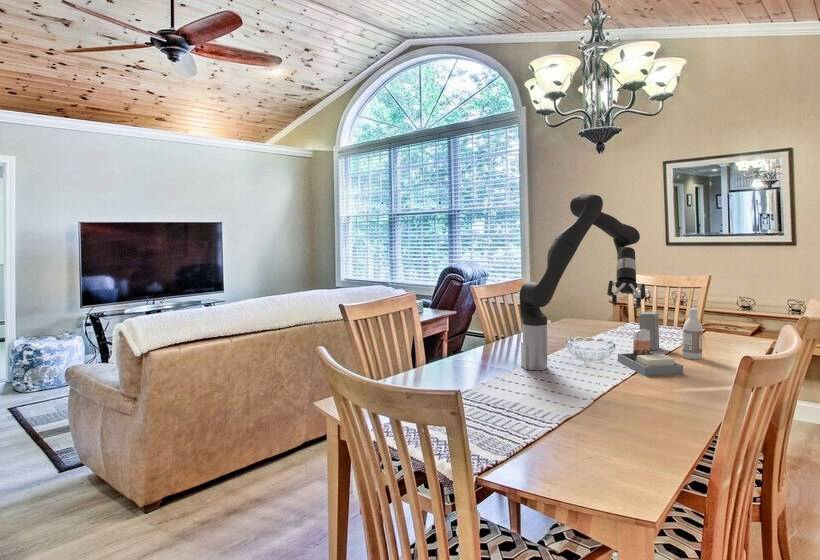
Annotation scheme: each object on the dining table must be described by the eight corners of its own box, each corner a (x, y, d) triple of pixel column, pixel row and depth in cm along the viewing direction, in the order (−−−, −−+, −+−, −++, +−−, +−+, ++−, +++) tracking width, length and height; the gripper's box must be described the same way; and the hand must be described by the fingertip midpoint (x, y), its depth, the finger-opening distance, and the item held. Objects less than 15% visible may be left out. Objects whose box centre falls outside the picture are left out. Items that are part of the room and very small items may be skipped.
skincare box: (655, 351, 216) (656, 314, 214) (637, 349, 220) (638, 313, 219) (659, 347, 223) (660, 311, 221) (642, 345, 227) (643, 310, 225)
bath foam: (698, 360, 199) (700, 310, 197) (679, 357, 204) (681, 309, 202) (704, 357, 204) (705, 308, 202) (685, 354, 209) (687, 306, 207)
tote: (644, 378, 178) (644, 367, 178) (617, 363, 198) (617, 353, 198) (682, 376, 179) (683, 365, 179) (652, 362, 199) (652, 352, 198)
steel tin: (637, 366, 191) (638, 332, 189) (630, 362, 196) (630, 329, 195) (652, 365, 191) (653, 331, 190) (644, 361, 197) (645, 328, 195)
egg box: (647, 373, 180) (647, 360, 180) (637, 368, 187) (637, 355, 187) (674, 372, 181) (674, 358, 180) (663, 367, 188) (663, 354, 187)
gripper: (610, 265, 210) (609, 300, 203) (646, 268, 207) (647, 304, 200) (606, 273, 216) (605, 307, 209) (641, 276, 214) (642, 312, 207)
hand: (626, 306), depth 205 cm, fingers open, 8 cm apart
